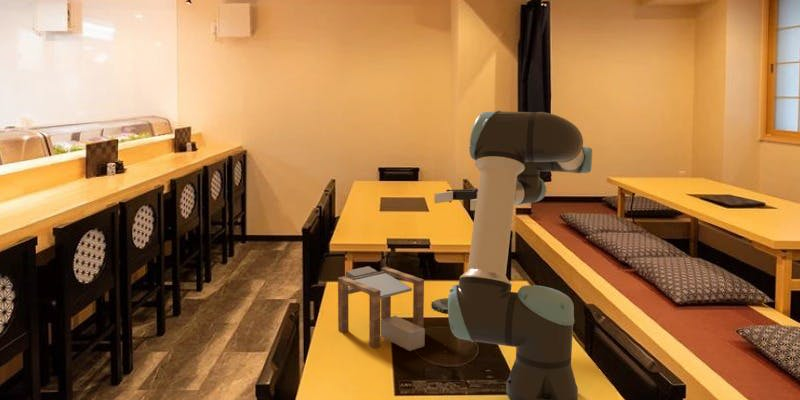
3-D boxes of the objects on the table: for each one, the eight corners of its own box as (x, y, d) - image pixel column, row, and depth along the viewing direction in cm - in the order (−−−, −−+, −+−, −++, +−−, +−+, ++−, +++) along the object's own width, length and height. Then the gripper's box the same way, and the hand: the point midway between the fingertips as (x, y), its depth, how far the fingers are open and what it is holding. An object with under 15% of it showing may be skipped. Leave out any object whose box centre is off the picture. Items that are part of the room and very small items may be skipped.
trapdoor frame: (423, 332, 172) (424, 279, 169) (374, 348, 161) (374, 292, 158) (386, 316, 184) (386, 267, 181) (338, 330, 173) (337, 277, 170)
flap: (411, 292, 170) (412, 286, 169) (376, 301, 162) (377, 295, 162) (373, 270, 182) (374, 265, 181) (339, 277, 174) (340, 272, 174)
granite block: (395, 333, 172) (424, 346, 163) (380, 337, 169) (409, 351, 160) (395, 315, 171) (424, 328, 162) (380, 319, 168) (409, 333, 159)
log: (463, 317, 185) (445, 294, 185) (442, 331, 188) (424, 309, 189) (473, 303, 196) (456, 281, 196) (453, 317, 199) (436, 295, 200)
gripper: (539, 213, 173) (487, 222, 159) (472, 201, 192) (421, 208, 178) (540, 186, 172) (488, 193, 158) (473, 176, 190) (421, 182, 177)
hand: (452, 201), depth 168 cm, fingers open, 13 cm apart
